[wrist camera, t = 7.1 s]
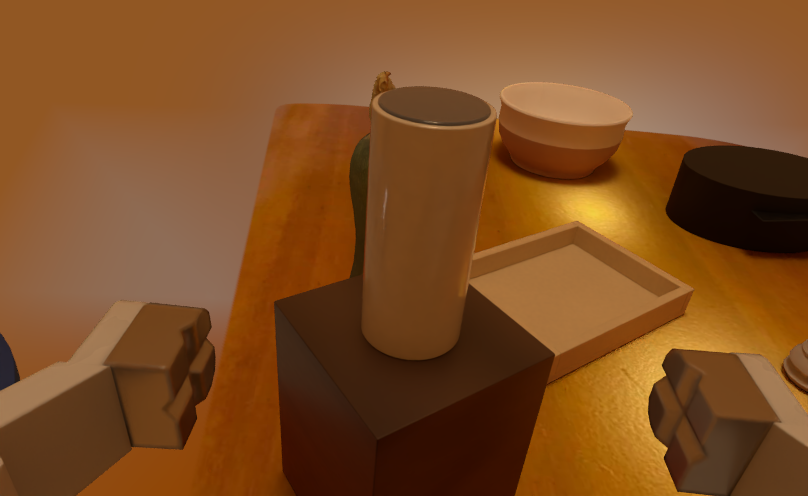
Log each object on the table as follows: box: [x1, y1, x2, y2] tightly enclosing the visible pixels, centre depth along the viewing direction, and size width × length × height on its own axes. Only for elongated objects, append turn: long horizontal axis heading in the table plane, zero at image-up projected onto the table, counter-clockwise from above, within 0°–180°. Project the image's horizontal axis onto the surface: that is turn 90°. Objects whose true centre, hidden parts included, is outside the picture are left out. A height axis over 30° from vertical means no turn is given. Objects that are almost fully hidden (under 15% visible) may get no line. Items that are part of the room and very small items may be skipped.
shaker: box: [361, 86, 497, 360], centre depth 23 cm, size 4×4×10 cm
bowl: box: [499, 82, 633, 179], centre depth 72 cm, size 16×16×8 cm
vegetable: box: [349, 71, 395, 278], centre depth 37 cm, size 4×4×20 cm
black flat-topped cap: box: [666, 146, 808, 253], centre depth 62 cm, size 14×18×8 cm
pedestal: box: [274, 274, 555, 496], centre depth 29 cm, size 9×9×12 cm
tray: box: [469, 221, 694, 384], centre depth 48 cm, size 17×13×3 cm
